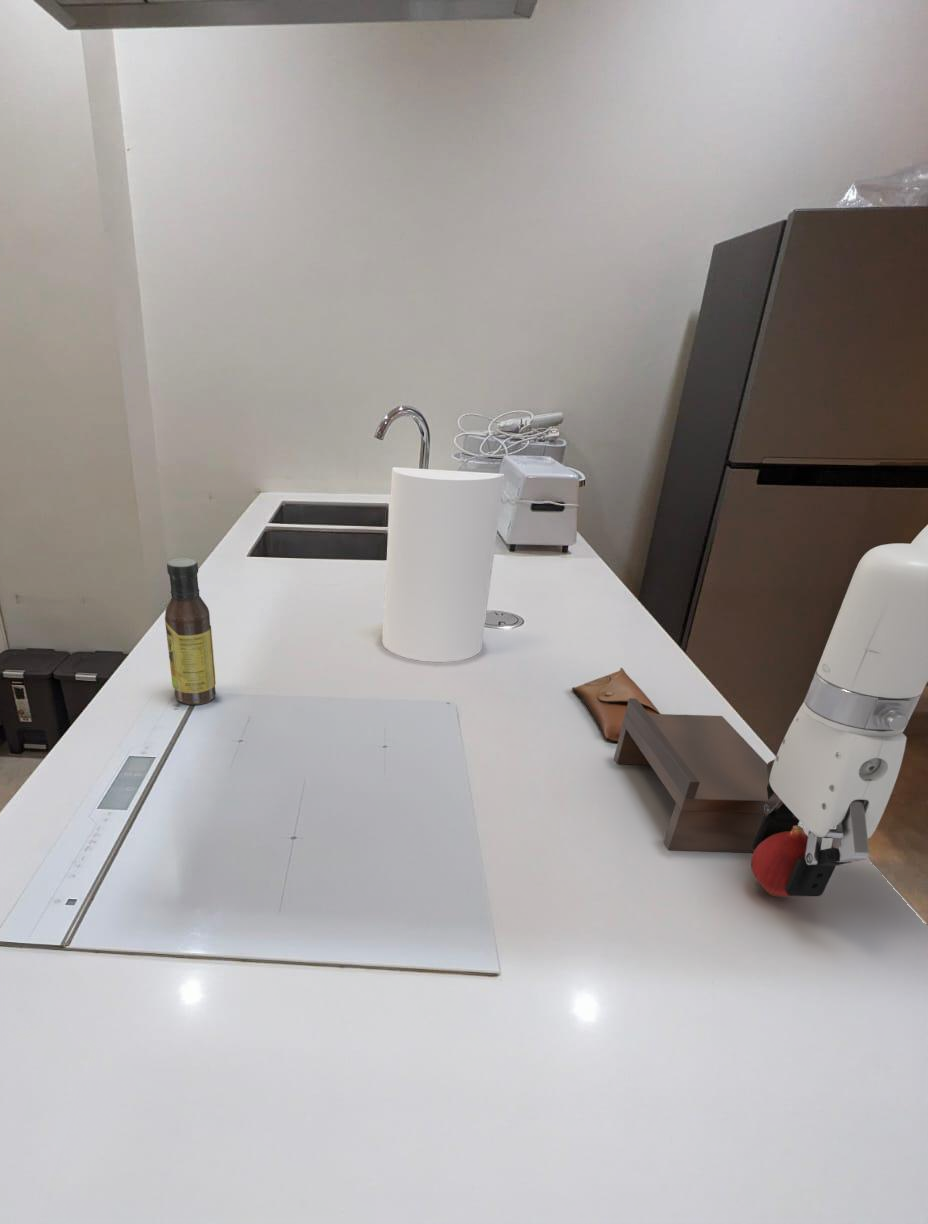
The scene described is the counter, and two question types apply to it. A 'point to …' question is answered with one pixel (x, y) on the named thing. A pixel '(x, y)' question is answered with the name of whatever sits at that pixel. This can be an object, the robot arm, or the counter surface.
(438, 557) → the cylinder
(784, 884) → the onion
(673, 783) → the shelf
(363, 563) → the counter surface
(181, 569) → the sauce bottle
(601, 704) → the sunglasses case
